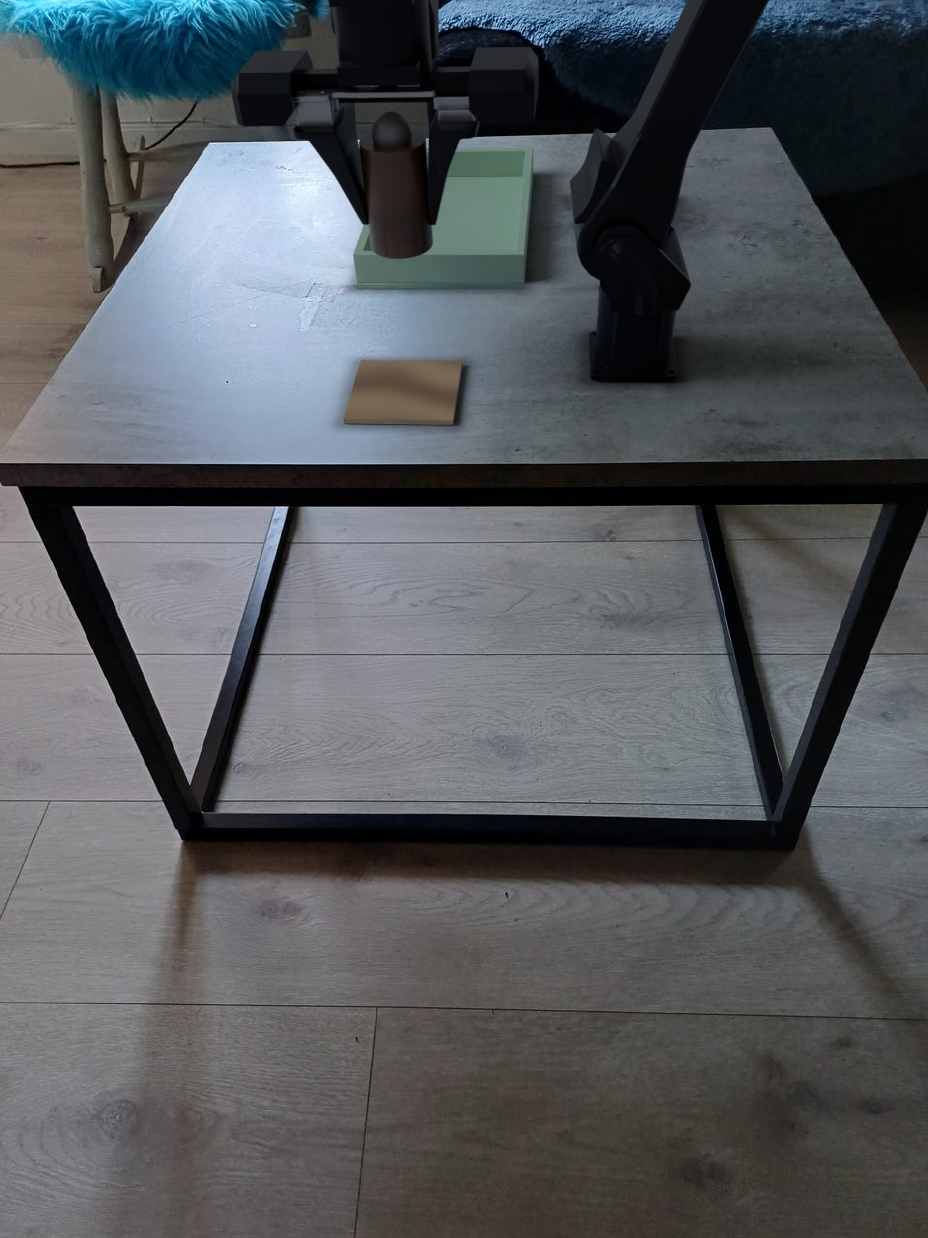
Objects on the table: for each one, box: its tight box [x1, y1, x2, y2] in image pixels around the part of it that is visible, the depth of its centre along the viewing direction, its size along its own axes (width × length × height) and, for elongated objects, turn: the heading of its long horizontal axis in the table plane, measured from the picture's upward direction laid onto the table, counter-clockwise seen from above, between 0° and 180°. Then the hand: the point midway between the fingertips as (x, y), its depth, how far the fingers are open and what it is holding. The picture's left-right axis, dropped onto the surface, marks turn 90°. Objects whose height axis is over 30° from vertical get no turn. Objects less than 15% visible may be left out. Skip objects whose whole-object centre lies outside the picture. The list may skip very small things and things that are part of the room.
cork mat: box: [342, 359, 464, 426], centre depth 70 cm, size 8×8×1 cm
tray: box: [352, 147, 535, 290], centre depth 88 cm, size 24×15×3 cm, turn 175°
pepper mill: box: [358, 110, 433, 259], centre depth 63 cm, size 4×4×9 cm
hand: (400, 222), depth 65 cm, fingers closed on pepper mill, 4 cm apart
